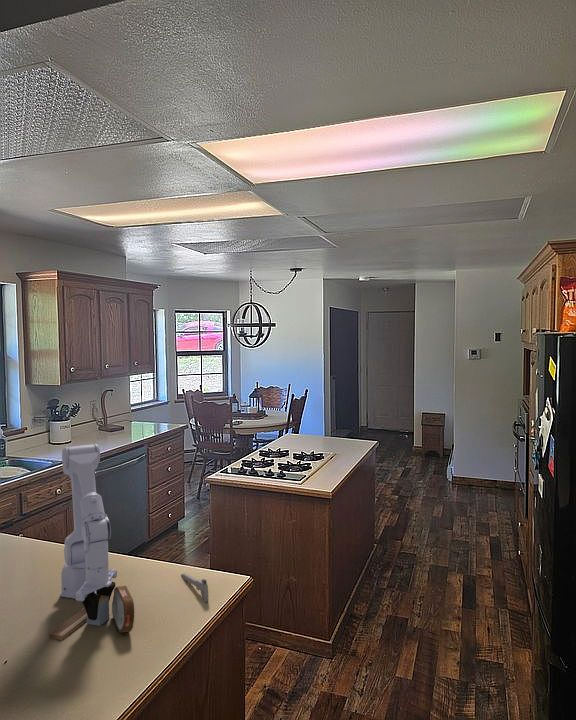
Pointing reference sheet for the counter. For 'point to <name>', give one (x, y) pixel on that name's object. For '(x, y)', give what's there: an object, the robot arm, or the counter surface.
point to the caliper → (198, 585)
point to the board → (69, 625)
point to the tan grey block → (101, 612)
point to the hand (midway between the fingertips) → (97, 614)
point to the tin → (123, 609)
